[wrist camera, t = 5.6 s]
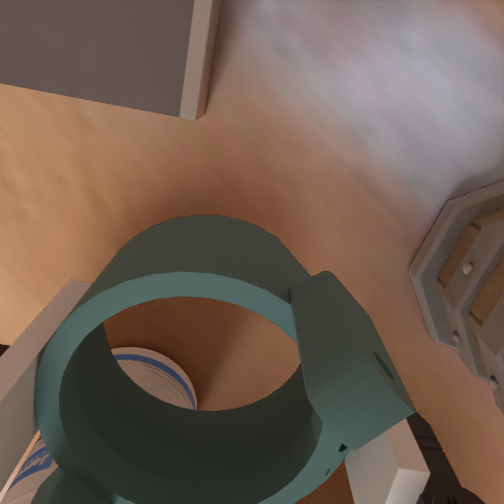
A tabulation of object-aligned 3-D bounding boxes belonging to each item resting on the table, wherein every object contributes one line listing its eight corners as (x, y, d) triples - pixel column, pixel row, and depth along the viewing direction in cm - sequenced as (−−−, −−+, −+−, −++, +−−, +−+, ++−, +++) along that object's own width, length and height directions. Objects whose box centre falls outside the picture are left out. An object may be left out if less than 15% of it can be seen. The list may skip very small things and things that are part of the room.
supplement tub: (83, 328, 35) (-28, 490, 21) (211, 357, 36) (186, 532, 22) (66, 434, 38) (-42, 637, 24) (184, 459, 39) (146, 669, 25)
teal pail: (87, 409, 19) (-42, 677, 11) (102, 181, 16) (-63, 302, 7) (310, 440, 20) (357, 716, 11) (368, 226, 16) (494, 385, 8)
